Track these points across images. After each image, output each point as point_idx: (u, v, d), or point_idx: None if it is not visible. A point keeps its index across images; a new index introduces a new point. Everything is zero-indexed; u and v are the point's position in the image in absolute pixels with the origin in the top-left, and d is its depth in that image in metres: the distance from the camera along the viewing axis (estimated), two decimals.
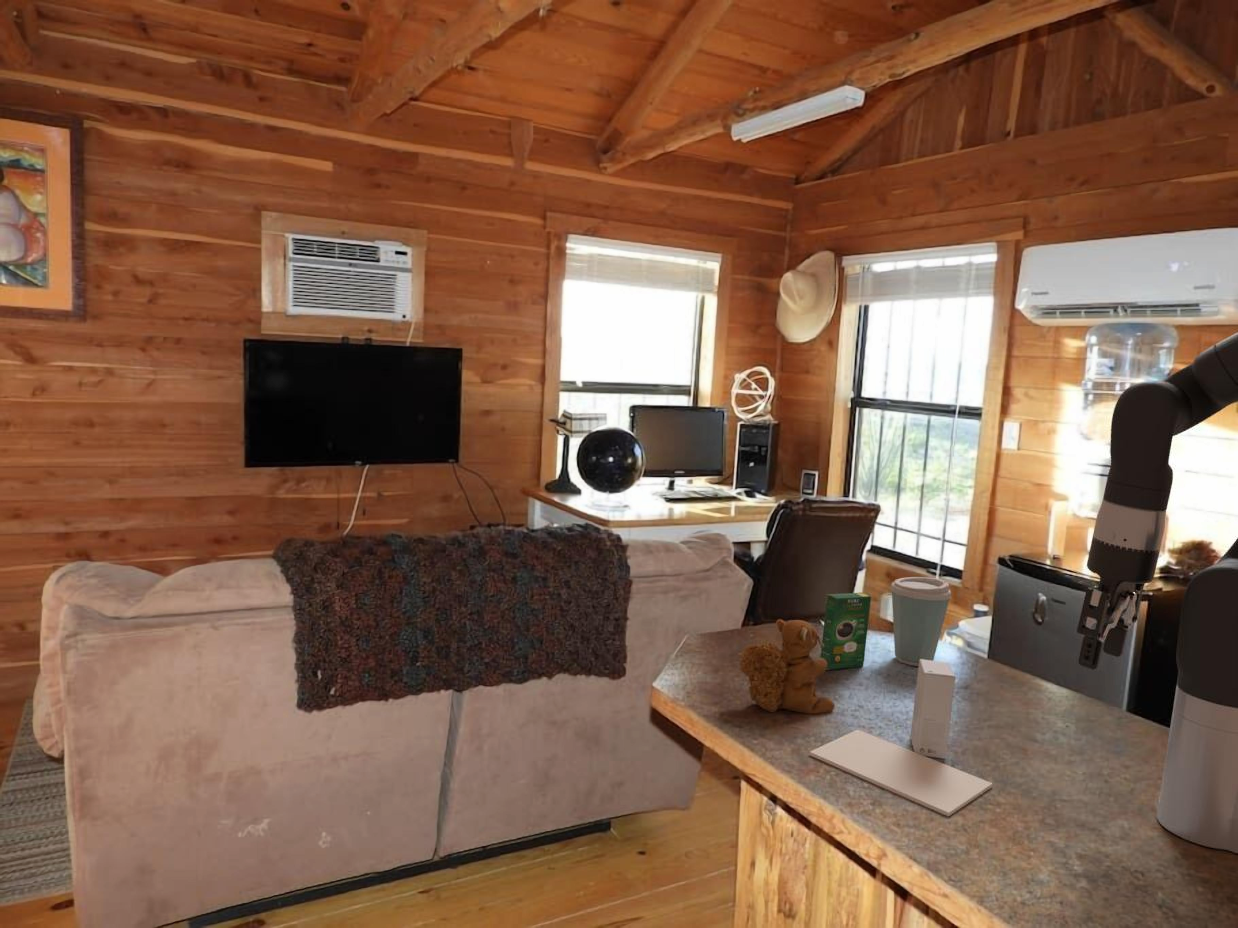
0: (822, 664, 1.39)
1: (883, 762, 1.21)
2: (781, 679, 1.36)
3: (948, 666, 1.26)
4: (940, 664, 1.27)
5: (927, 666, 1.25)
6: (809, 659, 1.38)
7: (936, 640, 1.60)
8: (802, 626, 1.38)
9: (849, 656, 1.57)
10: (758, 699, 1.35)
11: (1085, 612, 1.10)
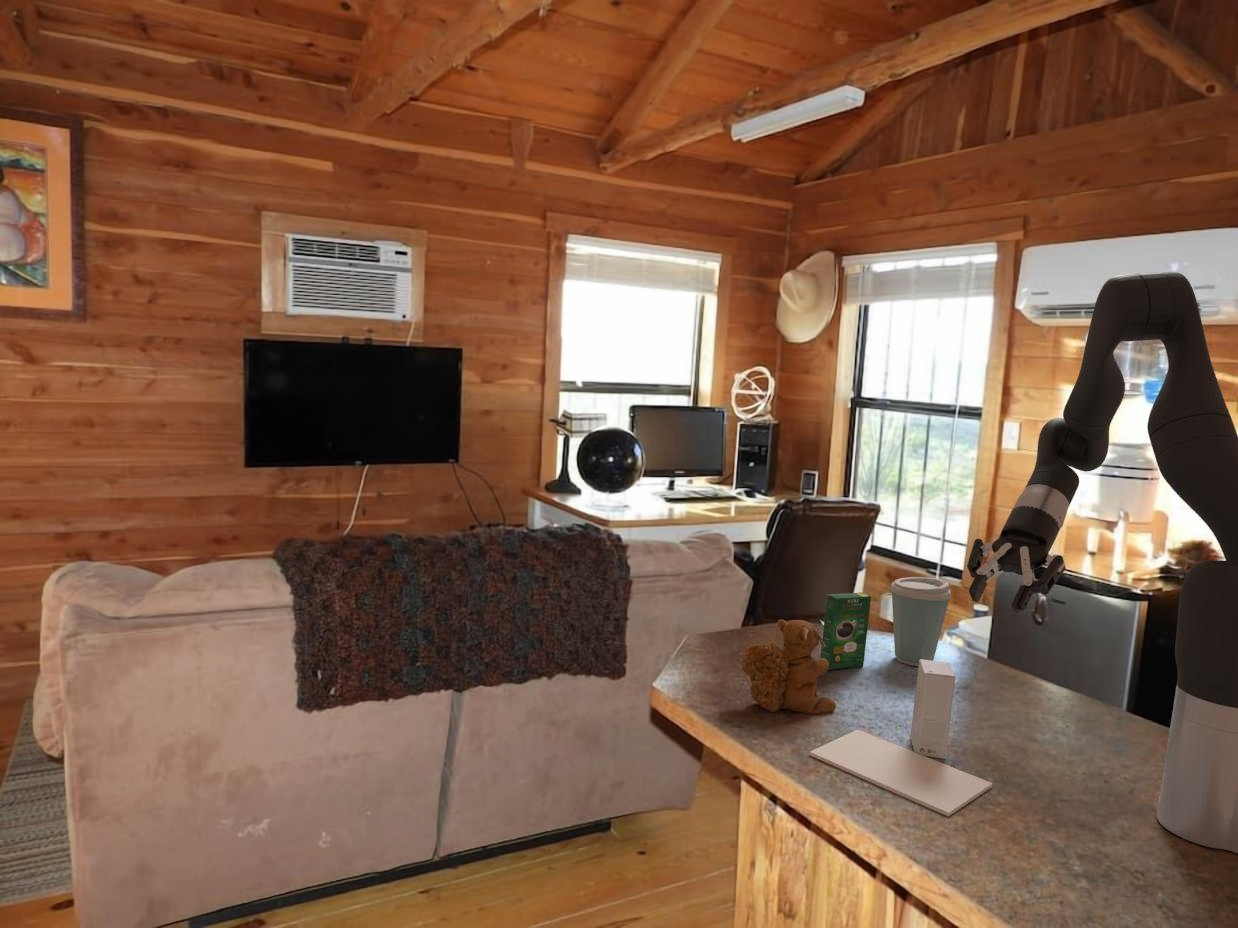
0: (823, 664, 1.39)
1: (883, 762, 1.21)
2: (782, 679, 1.36)
3: (948, 666, 1.26)
4: (940, 664, 1.27)
5: (927, 666, 1.25)
6: (810, 659, 1.38)
7: (936, 640, 1.60)
8: (804, 626, 1.38)
9: (849, 656, 1.57)
10: (759, 699, 1.35)
11: None
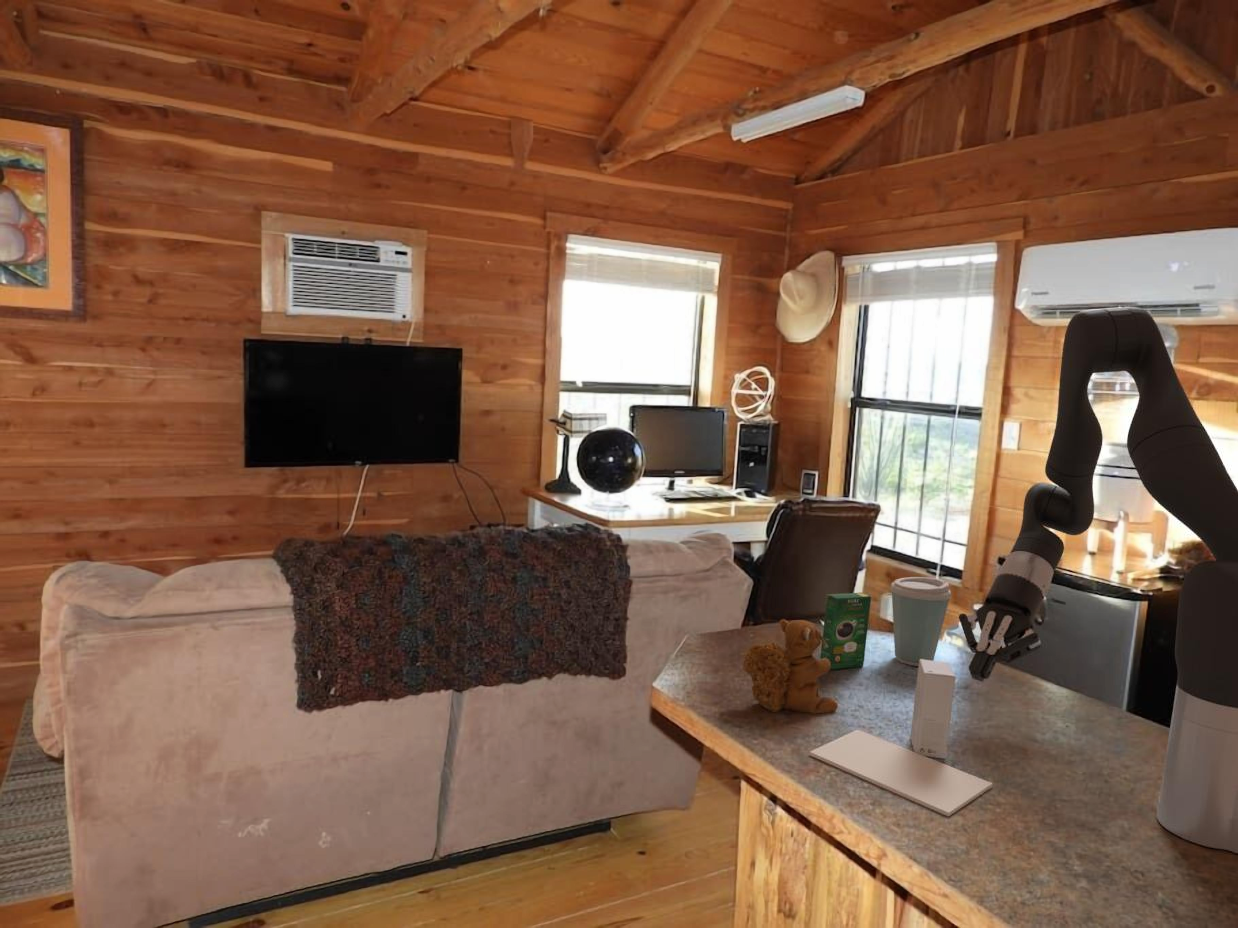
0: (825, 664, 1.39)
1: (883, 762, 1.21)
2: (784, 679, 1.36)
3: (948, 666, 1.26)
4: (940, 664, 1.27)
5: (927, 666, 1.25)
6: (812, 659, 1.38)
7: (936, 640, 1.60)
8: (806, 626, 1.38)
9: (849, 656, 1.57)
10: (761, 699, 1.36)
11: None
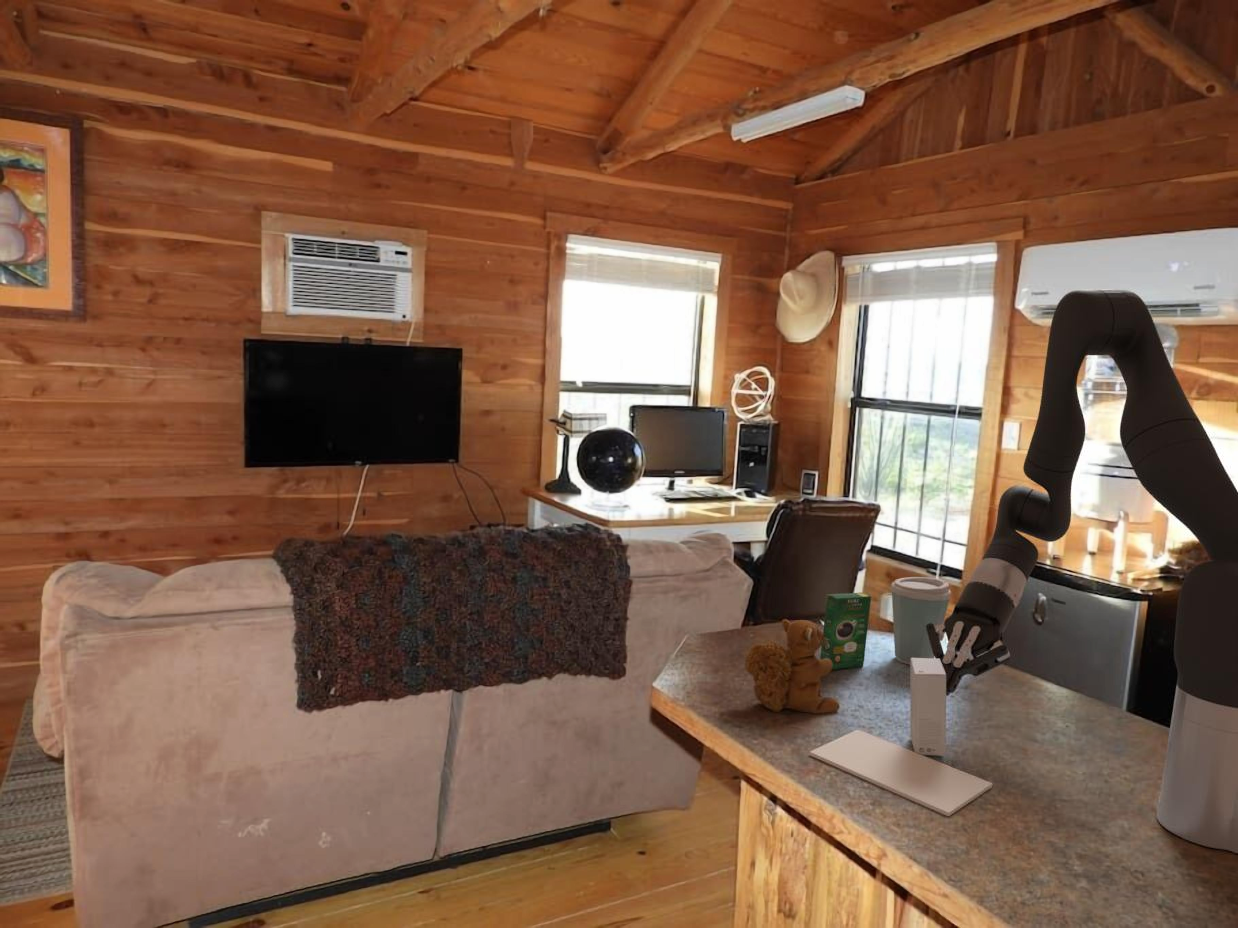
0: (827, 664, 1.39)
1: (883, 762, 1.21)
2: (786, 679, 1.36)
3: (939, 663, 1.26)
4: (931, 661, 1.26)
5: (917, 666, 1.25)
6: (814, 659, 1.38)
7: None
8: (807, 626, 1.38)
9: (849, 656, 1.57)
10: (763, 699, 1.36)
11: None
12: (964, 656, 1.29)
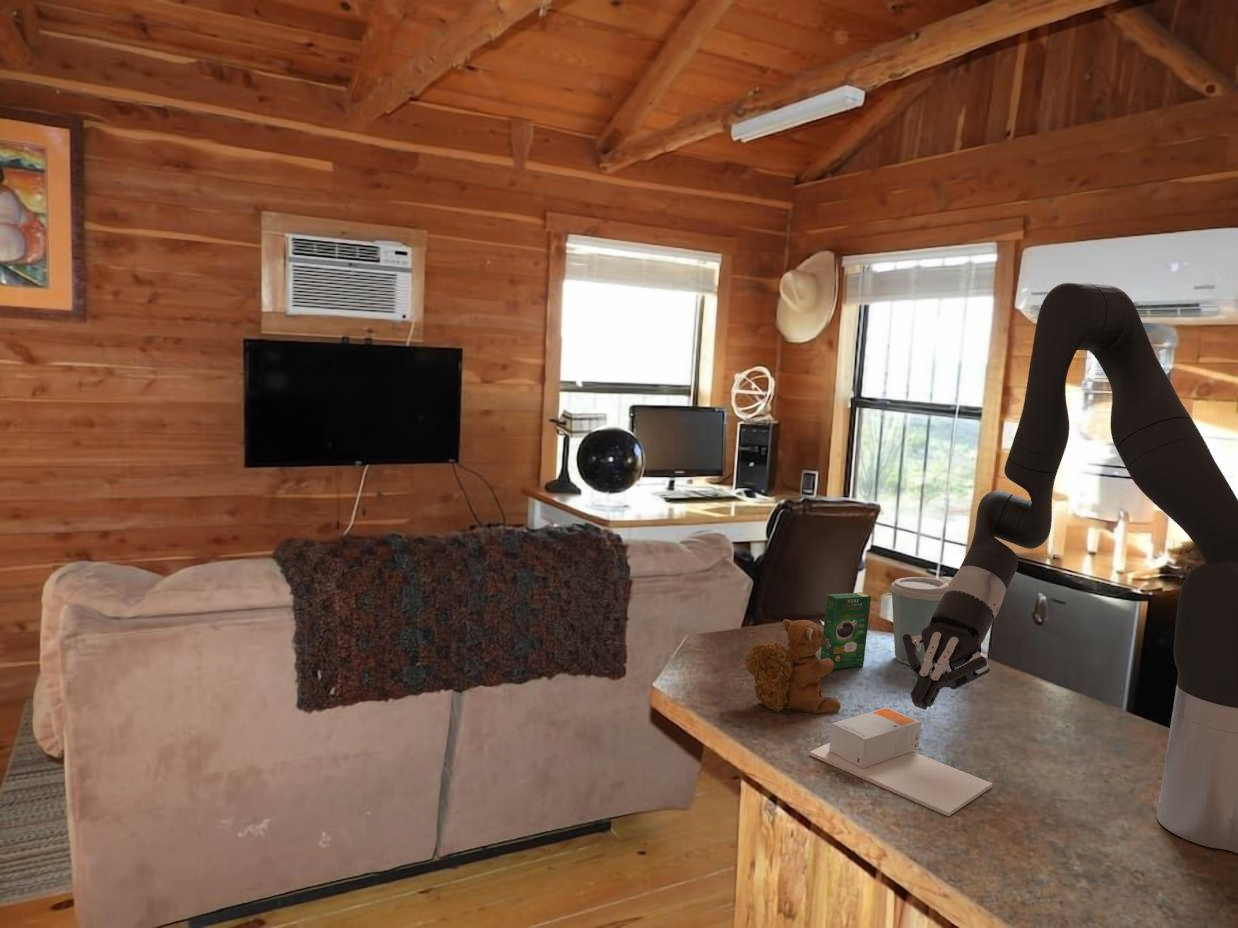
0: (828, 664, 1.39)
1: (883, 762, 1.21)
2: (786, 679, 1.36)
3: (841, 730, 1.21)
4: (837, 735, 1.21)
5: (846, 755, 1.20)
6: (815, 659, 1.38)
7: None
8: (808, 626, 1.38)
9: (849, 656, 1.57)
10: (763, 698, 1.36)
11: None
12: (942, 668, 1.24)
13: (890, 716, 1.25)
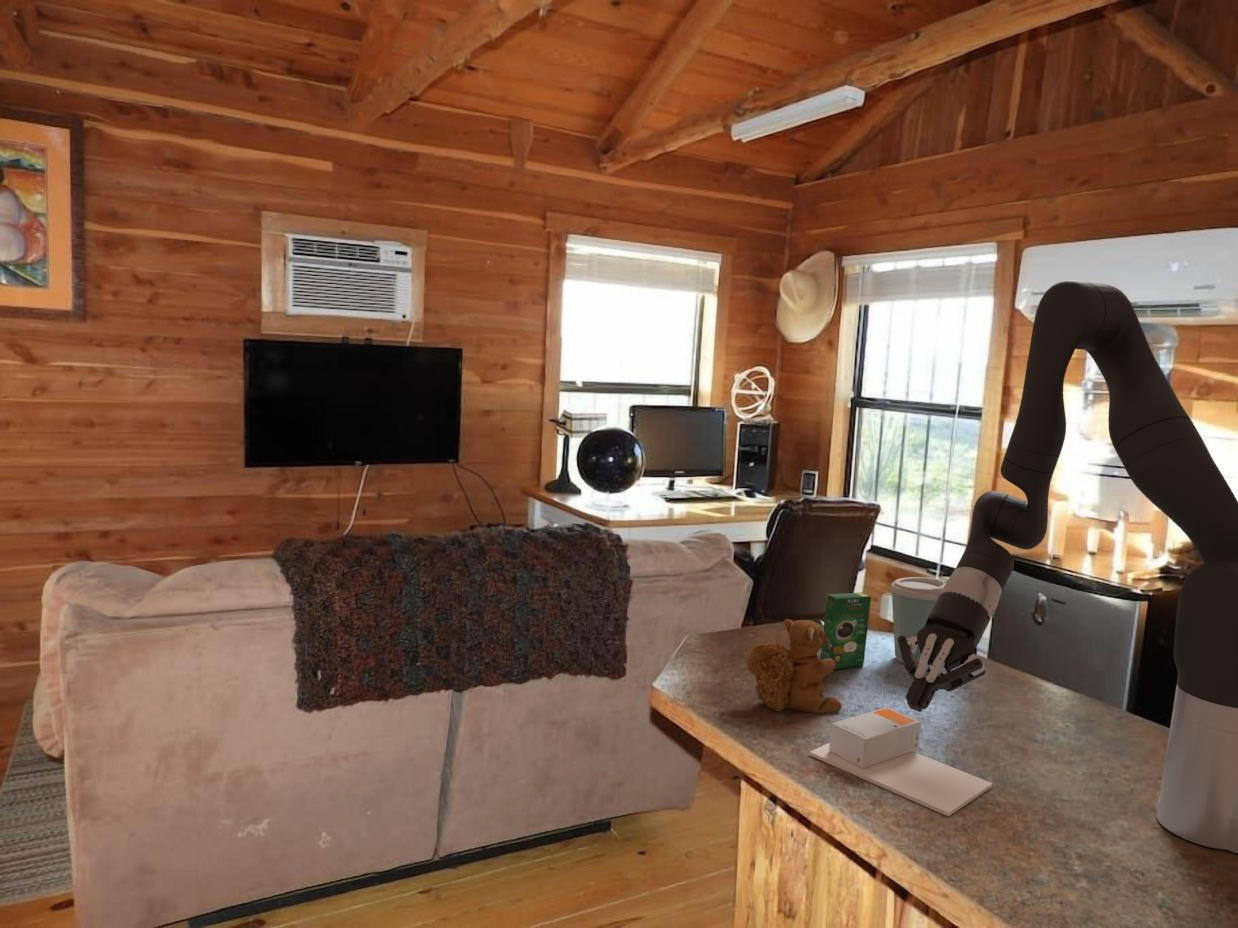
0: (829, 664, 1.39)
1: (883, 762, 1.21)
2: (788, 678, 1.36)
3: (841, 730, 1.21)
4: (837, 735, 1.21)
5: (846, 755, 1.20)
6: (816, 659, 1.38)
7: None
8: (810, 626, 1.38)
9: (849, 656, 1.57)
10: (764, 698, 1.36)
11: None
12: (937, 670, 1.23)
13: (890, 716, 1.25)
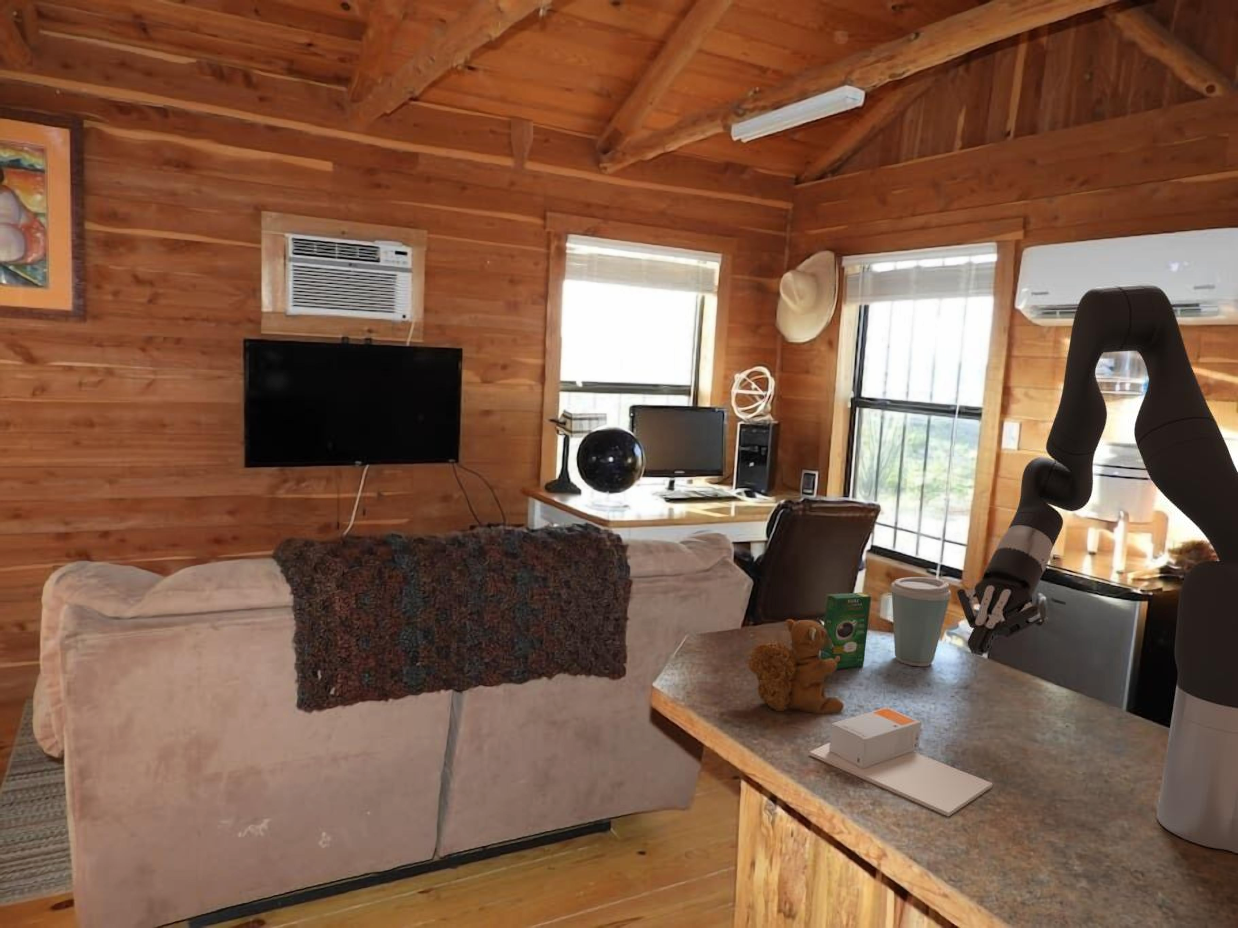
0: (831, 664, 1.39)
1: (883, 762, 1.21)
2: (789, 678, 1.36)
3: (841, 730, 1.21)
4: (837, 735, 1.21)
5: (846, 755, 1.20)
6: (818, 659, 1.38)
7: (936, 640, 1.60)
8: (811, 626, 1.38)
9: (849, 656, 1.57)
10: (766, 698, 1.36)
11: None
12: (996, 618, 1.34)
13: (890, 716, 1.25)
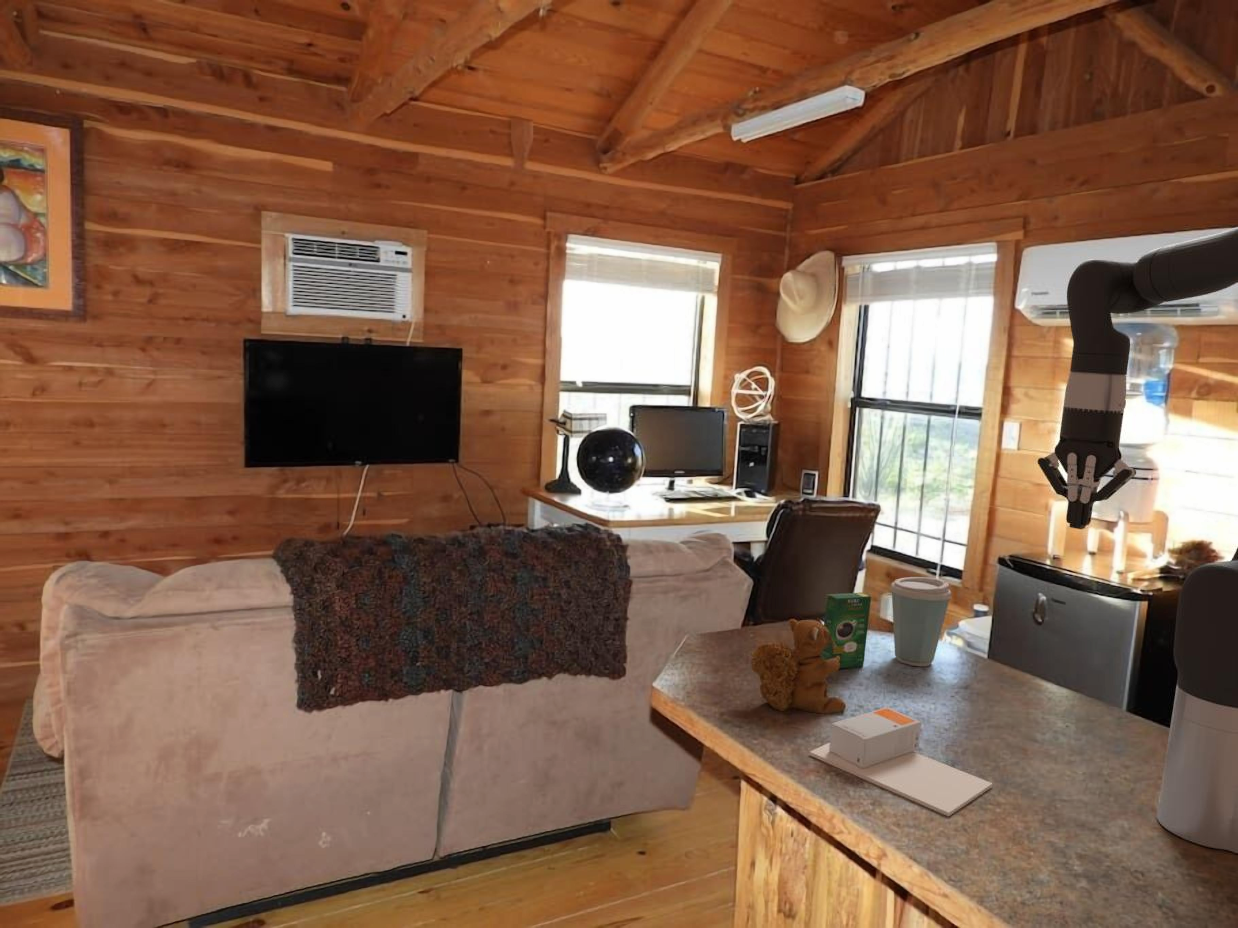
0: (834, 664, 1.39)
1: (883, 762, 1.21)
2: (791, 678, 1.37)
3: (841, 730, 1.21)
4: (837, 735, 1.21)
5: (846, 755, 1.20)
6: (820, 659, 1.39)
7: (936, 640, 1.60)
8: (814, 626, 1.38)
9: (849, 656, 1.57)
10: (768, 697, 1.36)
11: None
12: (1088, 489, 1.25)
13: (890, 716, 1.25)
